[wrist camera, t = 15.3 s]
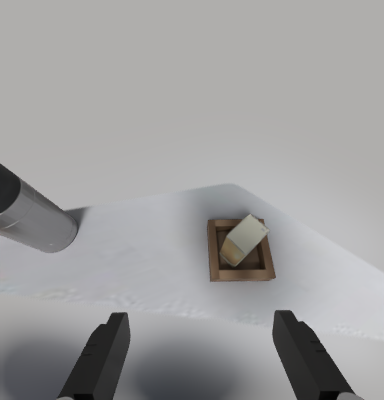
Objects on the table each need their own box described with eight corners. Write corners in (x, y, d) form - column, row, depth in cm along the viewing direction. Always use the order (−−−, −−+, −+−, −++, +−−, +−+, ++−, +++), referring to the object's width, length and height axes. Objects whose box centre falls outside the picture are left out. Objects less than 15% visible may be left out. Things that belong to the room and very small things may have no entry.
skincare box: (237, 235, 44) (251, 211, 33) (252, 249, 42) (272, 229, 32) (217, 254, 42) (225, 235, 31) (232, 270, 40) (246, 255, 30)
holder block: (210, 281, 40) (211, 278, 37) (207, 226, 46) (208, 219, 42) (268, 280, 40) (275, 277, 36) (258, 225, 46) (263, 218, 42)
